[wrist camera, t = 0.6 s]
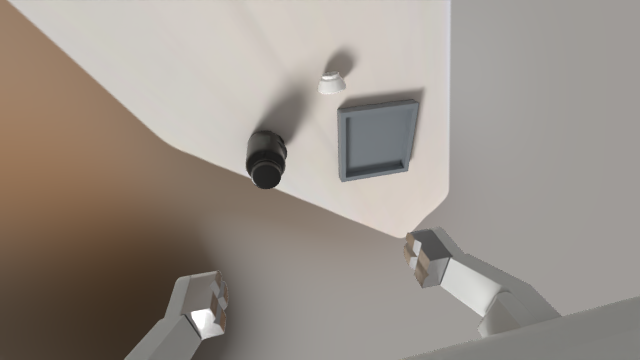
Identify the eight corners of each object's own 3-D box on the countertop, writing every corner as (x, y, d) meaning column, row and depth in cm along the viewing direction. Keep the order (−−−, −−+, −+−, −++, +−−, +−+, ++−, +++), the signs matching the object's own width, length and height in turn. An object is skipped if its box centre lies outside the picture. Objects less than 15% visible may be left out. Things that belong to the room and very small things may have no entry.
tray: (337, 109, 49) (340, 113, 47) (412, 99, 51) (419, 103, 49) (338, 176, 58) (341, 182, 56) (402, 165, 60) (407, 171, 58)
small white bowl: (315, 90, 46) (321, 97, 42) (313, 73, 45) (319, 79, 41) (341, 85, 47) (349, 92, 43) (340, 68, 45) (348, 74, 41)
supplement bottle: (283, 158, 53) (288, 192, 43) (250, 161, 52) (248, 196, 42) (280, 128, 49) (286, 157, 39) (245, 130, 48) (241, 161, 38)
